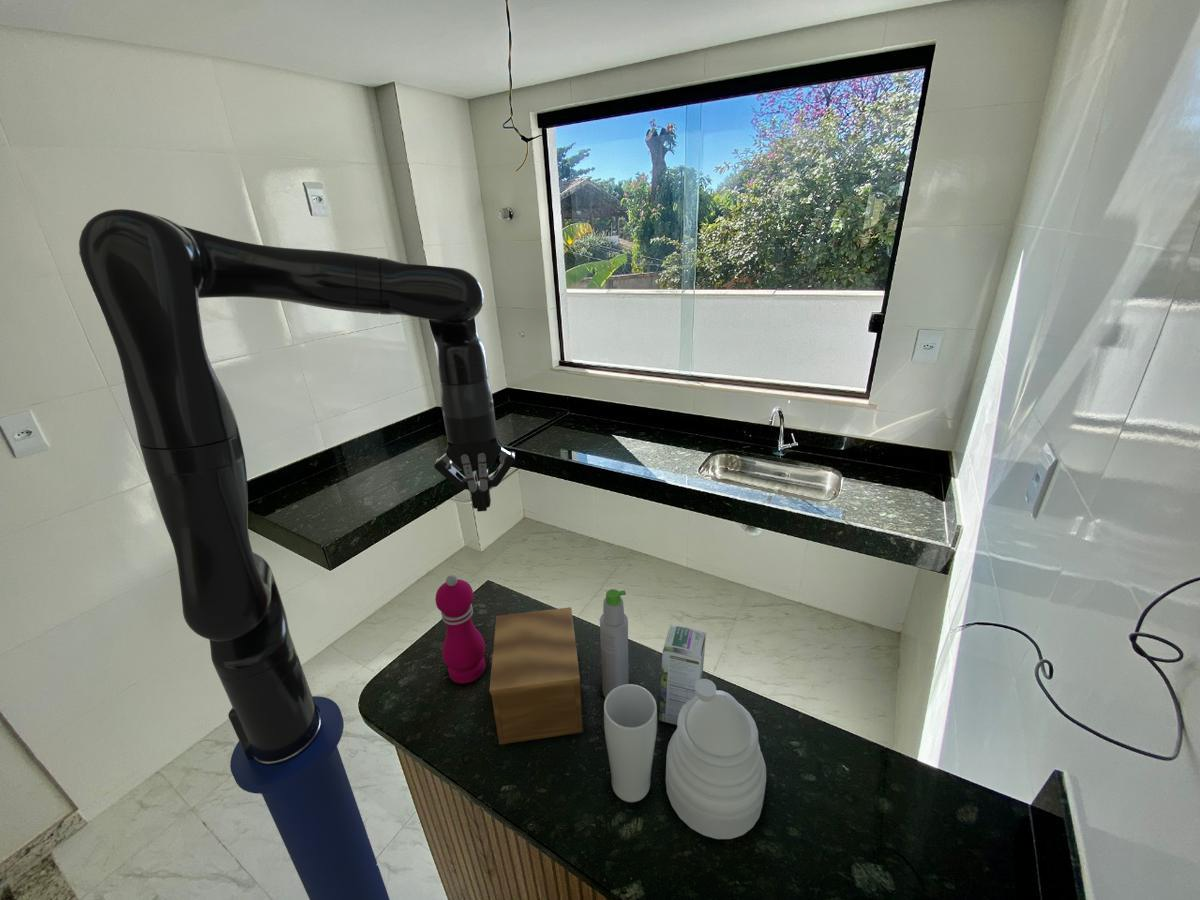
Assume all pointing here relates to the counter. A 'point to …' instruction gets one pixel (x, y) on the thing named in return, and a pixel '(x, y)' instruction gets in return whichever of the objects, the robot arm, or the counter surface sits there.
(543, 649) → the cover
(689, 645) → the syrup box
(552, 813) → the counter surface
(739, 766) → the honey pot
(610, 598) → the bottle
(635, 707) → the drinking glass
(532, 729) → the keepsake box
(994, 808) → the counter surface
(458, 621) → the pepper mill
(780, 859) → the counter surface
